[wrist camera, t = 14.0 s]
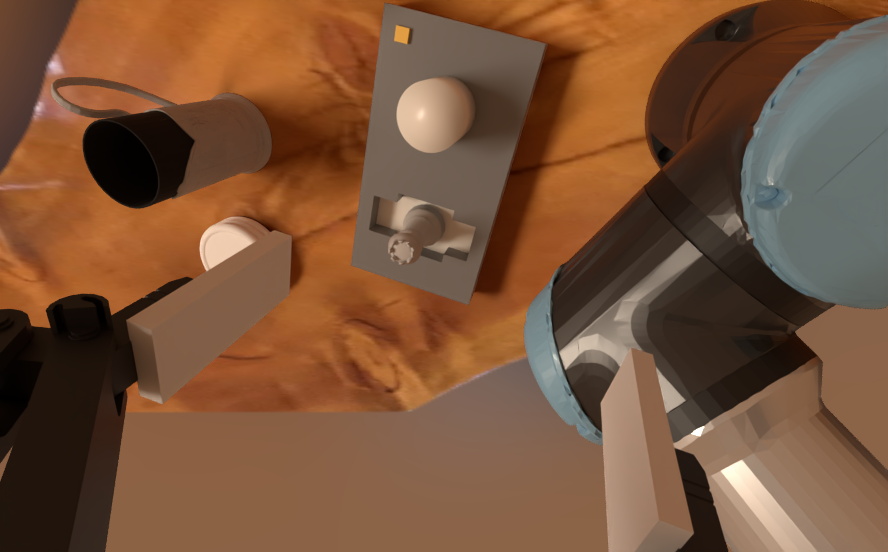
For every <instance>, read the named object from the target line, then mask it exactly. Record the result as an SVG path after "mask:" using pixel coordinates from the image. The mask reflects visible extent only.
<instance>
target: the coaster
mask: <svg viewBox="0 0 888 552" xmlns="http://www.w3.org/2000/svg"><path fill="white" fill-rule="evenodd" d="M269 233H270V231H269V230H267V229H266V228H265V227H264V226H263V225H261V224H260V223H258V222H257V221H254V220H252V219H250V218H246V217H240V216H236V217H229V218H226V219H224V220H223V221H220V222H218V223H217V224H214V225H212V226H211V227H209V228H208V229H207V230H206V231H205V233H204V234H203V236H202V238H201V242H200V255H201V259H202V262H203V265H204V267H205V269H206V271H208V270H210V269H211V268H213V267H215V266H216V265H218V264H219V263H221V262H223V261H224V260H226V259H228V258H229V257H231V256H233V255H234V254H236V253H237V252H239V251H241V250H242V249H244V248H246V247H247V246H249V245H251V244H252V243H254V242H256V241H257V240H259V239H260V238H262V237H264V236H265V235H267V234H269Z"/></svg>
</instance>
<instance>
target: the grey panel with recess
mask: <svg viewBox="0 0 888 552" xmlns="http://www.w3.org/2000/svg"><path fill="white" fill-rule="evenodd" d="M547 46H548V44H547V43H543V42H539V41H536V40H532V39H528V38H524V37H520V36H516V35H512V34H508V33H504V32H500V31H496V30H492V29H488V28H485V27H481V26H477V25H473V24H469V23H465V22H461V21H457V20H453V19H449V18H445V17H441V16H438V15H434V14H430V13H426V12H422V11H418V10H414V9H410V8H406V7H402V6H398V5H394V4H389V3H385V4H384V12H383V20H382V28H381V35H380V43H379V51H378V59H377V67H376V74H375V82H374V90H373V98H372V106H371V113H370V121H369V129H368V137H367V145H366V152H365V160H364V168H363V176H362V184H361V191H360V199H359V207H358V215H357V223H356V230H355V238H354V246H353V254H352V262H351V266H354V267H357V268H360V269H363V270H366V271H369V272H372V273H375V274H378V275H381V276H384V277H387V278H390V279H393V280H396V281H399V282H402V283H404V284H407V285H410V286H413V287H416V288H419V289H422V290H425V291H428V292H431V293H434V294H437V295H440V296H443V297H446V298H449V299H452V300H455V301H458V302H461V303H464V304H467V305H469V303H470V300H471V298H472V296H473V293H474V291H475V287H476V284H477V281H478V277H479V274H480V271H481V267H482V264H483V260H484V257H485V254H486V250H487V247H488V244H489V240H490V237H491V234H492V230H493V227H494V224H495V220H496V217H497V214H498V210H499V207H500V204H501V200H502V197H503V193H504V190H505V187H506V183H507V180H508V177H509V173H510V170H511V167H512V163H513V160H514V157H515V153H516V150H517V147H518V143H519V140H520V137H521V133H522V130H523V126H524V123H525V120H526V116H527V113H528V110H529V106H530V103H531V100H532V96H533V93H534V90H535V86H536V83H537V80H538V76H539V73H540V70H541V66H542V63H543V59H544V56H545V53H546V49H547ZM421 204H422V205H430V206H431V207H433V208H435V209H437V210H438V211H439V213H440V214H441V215H442V217H443V219H444V222H445V231H444V234H443V236H442V238H440V239H439V241H437V242H436V243H435V244H434V245H431V246H427V247H423V249H422V251H421V255H420V257H419V259H418V260H417V261H416V262H414V263H412V264H408V265H407V264H404V265H399V262H397V261H396V260H395V261H394V262H393V260H392V259H391V257H392V256H391V254H390V253H388V243H389V240H390V238H391V237H392V236H393V235H394V234H397V233H399V232H400V231H401V230H403V221H404V218H405V216H406V214H407V213H408V211H409V210H411V209H412V208H413V207H414V206H417V205H421Z"/></svg>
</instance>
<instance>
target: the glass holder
mask: <svg viewBox="0 0 888 552" xmlns="http://www.w3.org/2000/svg"><path fill="white" fill-rule="evenodd" d="M68 85H89V86H100V87H105V88H110V89H115V90H119V91H123V92H127V93H130V94H133V95H136V96H139V97H142V98H144V99H147V100H150V101H152V102H155V103H157V104H159V105H162V106H164V107H162V108H156V109H150V110H147V111H145V112H143V113H138V114H132V115H131V114H130V113H128V112H126V111H123V110H118V109H110V110H92V109H87V108H83V107H80V106H77V105H75V104H72V103H70V102H69V101H67V100H66V99H64V98H63V97H62V96H61V95H60V94H59V92H58V91H57V88H59V87H63V86H68ZM51 95H52V96H53V98H54V99H55V101H56V102H57V103H59V104H60V105H61V106H62V107H64V108H65V109H67V110H69V111H71V112H74V113H76V114H78V115H82V116H86V117H91V118H107V119H101V120H97V121H94V122H93V123H91V124H90V125H89V126H88V127H87V129H86V131H85V133H84V136H83V153H84V158H85V161H86V164H87V166H88V169H89V171H90V173H91V174H92V176H93V178H94V179H95V181H96V182H97V184H98V185H99V186H100V187H101V188H102V190H103V191H104V192H105V193H106V194H108V195H109V196H110V197H111V198H112V199H114V200H115V201H117V202H118V203H120V204H122V205H124V206H127V207H130V208H145V207H148V206H151V205H153V204H156V203H158V202H161V201H164V200H166V199H169V198H172V199H175V198H177V197H180V196H183V195H185V194H188V193H190V192H193V191H196V190H198V189H201V188H203V187H206V186H209V185H211V184H214V183H216V182H219V181H222V180H224V179H227V178H229V177H232V176H235V175H237V174H240V173H253V172H257V171H258V170H260V169H262V168H263V167H264V166H265V165H266V163H267V162H268V160H269V158H270V155H271V151H272V138H271V133H270V129H269V126H268V124H267V122H266V120H265V118H264V116H263V115H262V113H261V112H260V111H259V109H258V108H257V107H256V106H255V105H254V104H253V103H252V102H250V101H249V100H248V99H246V98H244V97H242V96H240V95H237V94H234V93H222V94H219V95H216V96H215V97H213V98H212V99H211V100H207V101H201V102H194V103H188V104H181V105H177V104H175V103H172V102H170V101H168V100H165V99H163V98H160V97H158V96H156V95H153V94H150V93H148V92H145V91H143V90H140V89H138V88H135V87H132V86H129V85H126V84H122V83H118V82H114V81H108V80H103V79H97V78H86V77H68V78H62V79H57V80H56V81H55V82H54V83H52V86H51ZM109 117H113V118H109Z"/></svg>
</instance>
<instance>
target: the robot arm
mask: <svg viewBox="0 0 888 552" xmlns="http://www.w3.org/2000/svg"><path fill="white" fill-rule="evenodd" d="M645 132H646V139H647V143H648V146H649V149H650V152H651V154H652V156H653V158H654V160H655V162H656V163H657V165H658V166H659V168H660V169H661V170H660V171H659V172H658V173H657V174H656V175H655V176H654V177H653V178H652V179H651V180H650V181H649V182H648V183H647V184H646V185H644V186H643V187H642V188H641V189H640V190H639V191H638V192H637V193H636V194H635V195H634V196H633V197H632V198H631V199H630V200H629V201H628V202H627V204H626V205H625V206H624V207H623V208H622V209H621V210H619V211H618V212H617V213H616V214H615V215H614V216H613V217H612V218H611V219H610V220H609V221H608V222H607V223H606V224H605V225H604V226H603V227H602V228H601V229H600V230H599V231H598V232H597V233H596V234H595V235H594V236H593V237H592V238H591V239H590V240H589V241H588V242H587V243H586V244H585V245H584V246H583V247H582V248H581V249H580V250H579V251H578V252H577V253H576V254H575V255H574V256H573V257H572V258H571V259H570V260H569V261H567V262H566V263H564V264H562V265H561V266H560V267H559V268H558V269H557V270H556V271H555V273H554V274H553V276H552V278H551V281H550V282H549V283H548V284H547V285H546V286H545V287H544V289H543V290H542V291H541V292H540V293H539V294H538V295H537V296H536V297H535V299H534V300H533V301H532V303H531V305H530V306H529V309H528V311H527V314H526V323H525V327H524V342H525V348H526V353H527V357H528V360H529V363H530V366H531V369H532V371H533V374H534V376H535V378H536V380H537V382H538V385H539V386H540V388H541V390H542V392H543V393H544V395H545V397H546V398H547V400H548V401H549V403H550V404H551V406H552V407H553V408H554V410H555V411H556V412H557V413H558V414H559V416H560V417H561V418H562V419H563V420H564V421H565V422H566V423H567V424H568V425H576V426H577V429H578V432H579V434H580V435H581V436H583V437H584V438H586V439H587V440H589V441H591V442H593V443H596V444H598V445H603V452H604V471H605V490H606V508H607V526H608V544H609V552H728V548H727V545H726V543H727V544H728V545H729V547H730V548H731V549H732V550H733V552H888V470H887V469H886V468H885V467H884V466H883V465H882V464H881V463H880V462H879V461H878V460H877V459H876V458H875V457H874V456H873V455H872V453H870V451H869V450H867V448H866V447H865V446H864V445H863V444H862V443H861V442H860V441H859V440H858V439H857V438H856V437H855V436H854V435H853V434H852V433H851V432H850V431H849V430H848V429H847V428H846V427H845V426H844V425H843V424H842V423H841V422H840V421H839V420H838V419H837V418H836V417H835V416H834V415H833V414H832V413H831V412H830V411H829V410H828V409H827V408H826V407H825V405H824V403H823V401H822V398H821V386H822V367H823V362H822V360H821V359H820V358H819V357H818V356H817V355H816V354H815V353H814V352H813V351H812V350H811V349H810V348H809V347H808V346H807V345H806V344H805V343H804V342H803V341H802V340H801V339H800V338H799V337H798V336H797V335H796V333H795V331H796V330H798V329H799V328H800V327H801V326H804V325H805V324H806V323H808V322H809V321H811V320H812V319H814V318H816V317H817V316H819V315H820V314H822V313H823V312H825V311H826V310H828V309H830V308H831V307H833V306H834V305H836V304H838V305H843V306H849V307H854V308H865V309H882V308H886V307H887V305H888V15H884V16H880V17H873V18H864V19H855V20H849V19H848V18H846V17H845V16H844V15H842V14H841V13H839V12H837V11H836V10H834V9H831V8H829V7H827V6H824V5H821V4H818V3H814V2H810V1H805V0H770V1H764V2H759V3H754V4H749V5H746V6H742V7H739V8H736V9H733V10H731V11H729V12H726V13H724V14H722V15H720V16H718V17H716V18H714V19H712V20H711V21H709V22H707V23H706V24H704V25H703V26H701V27H700V28H699V29H697V30H696V31H695V32H693V33H692V34H691V35H690V36H689V37H687V38H686V39H685V40H684V41H683V42H682V43H681V44H680V45H679V46H678V47H677V48H676V49H675V51H674V52H673V53H672V54H671V55H670V57H669V58H668V59H667V61H666V62H665V64H664V65H663V67H662V68H661V70H660V72H659V73H658V75H657V77H656V79H655V81H654V84H653V86H652V89H651V91H650V94H649V98H648V102H647V106H646V113H645ZM291 247H292V236H291V235H288V234H285V233H281V232H278V231H275V230H274V231H272V232H270V233H269V234H267V235H265V236H264V237H262V238H260V239H259V240H257V241H256V242H254V243H252V244H251V245H249V246H247V247H246V248H244V249H242V250H241V251H239V252H237V253H236V254H234V255H233V256H231V257H229V258H228V259H226V260H224V261H223V262H221V263H219V264H218V265H216V266H215V267H213V268H211V269H210V270H208V271H206V272H205V273H203V274H201V275H200V276H198V277H197V278H195V279H192V278H189V277H184V278H181V279H177V280H174V281H171V282H168V283H167V284H165V285H163V286H162V287H160V288H158V289H156V291H153V292H151V293H150V294H148V295H146V296H145V298H141V299H139V300H138V301H136V302H134V303H132V304H131V305H129V306H127V307H125V308H124V309H122V310H120V311H119V312H117V313H115V314H113V315H112V316H111V312H110V307H109V302H108V300H107V299H105V298H104V297H103V296H99V295H95V294H78V295H71V296H68V297H65V298H61V299H59V300H57V301H55V302H54V303H52V304H50V306H49V307H48V308H47V309H46V313H47V316H48V320H49V323H50V327H51V328H44V327H34V326H31V323H30V320H29V317H28V314H26V313H24V312H23V311H20V310H14V309H0V463H1V462H2V460H3V459H4V457H5V456H6V454H7V453H8V452H9V450H10V449H11V447H12V446H13V448H12V451H11V453H10V456H9V459H8V462H7V464H6V468H5V470H4V473H3V476H2V479H1V481H0V552H105V549H106V542H107V535H108V528H109V521H110V514H111V507H112V500H113V494H114V487H115V479H116V472H117V466H118V459H119V452H120V445H121V439H122V432H123V425H124V418H125V411H126V404H127V392H126V389H127V388H128V387H129V386H131V385H132V384H133V383H135V382H136V381H137V382H138V388H139V394H140V395H141V396H143V397H146V398H148V399H151V400H153V401H156V402H158V403H161V404H163V403H164V402H166V401H167V400H168V399H169V398H170V397H171V396H173V395H174V394H175V393H176V392H177V391H178V390H179V389H181V388H182V387H183V386H184V385H185V384H186V383H188V382H189V381H190V380H191V379H192V378H193V377H195V376H196V375H197V374H198V373H199V372H200V371H202V370H203V369H204V368H205V367H206V366H207V365H208V364H210V363H211V362H212V361H213V360H214V359H215V358H217V357H218V356H219V355H220V354H221V353H222V352H224V351H225V350H226V349H227V348H228V347H229V346H230V345H232V344H233V343H234V342H235V341H236V340H237V339H239V338H240V337H241V336H242V335H243V334H244V333H246V332H247V331H248V330H249V329H250V328H251V327H252V326H254V325H255V324H256V323H257V322H258V321H259V320H261V319H262V318H263V317H264V316H265V315H266V314H268V313H269V312H270V311H271V310H272V309H273V308H275V307H276V306H277V305H278V304H279V303H280V302H281V301H283V300H284V299H285V298H286V297H287V296H288V295H289V292H290V269H291ZM725 541H726V542H725Z"/></svg>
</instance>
